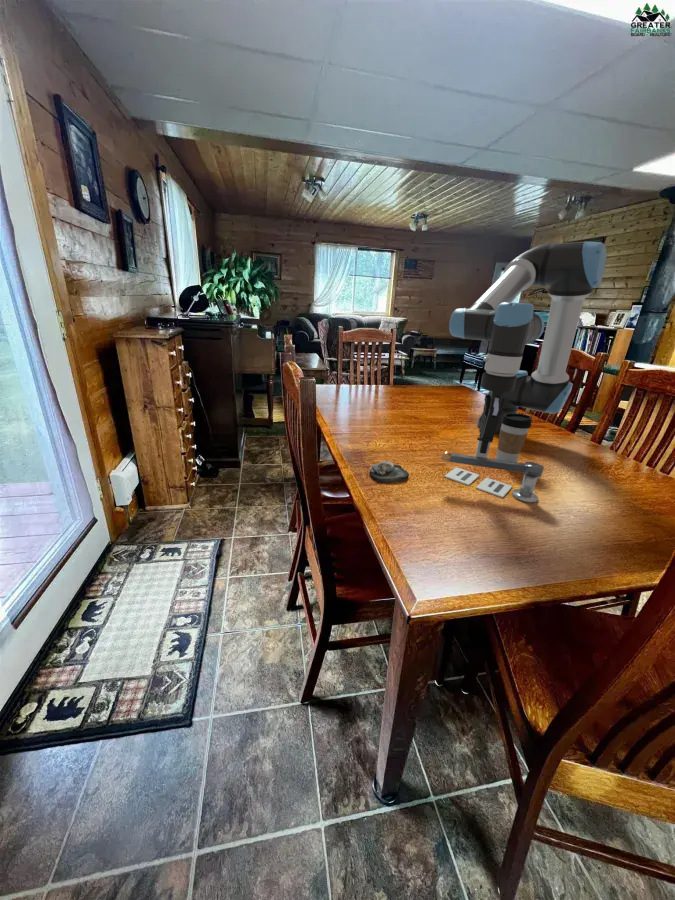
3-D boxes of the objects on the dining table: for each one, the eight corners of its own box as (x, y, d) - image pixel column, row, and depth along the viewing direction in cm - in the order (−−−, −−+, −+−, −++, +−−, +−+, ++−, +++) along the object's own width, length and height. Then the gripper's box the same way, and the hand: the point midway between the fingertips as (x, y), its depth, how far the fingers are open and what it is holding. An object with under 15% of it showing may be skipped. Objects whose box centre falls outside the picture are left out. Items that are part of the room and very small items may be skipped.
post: (515, 488, 95) (522, 466, 93) (539, 496, 92) (547, 474, 89) (509, 496, 91) (515, 474, 88) (534, 505, 88) (541, 482, 85)
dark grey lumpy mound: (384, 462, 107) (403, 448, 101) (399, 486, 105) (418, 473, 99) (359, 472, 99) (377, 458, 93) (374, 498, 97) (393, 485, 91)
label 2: (486, 478, 100) (486, 477, 100) (511, 487, 96) (512, 485, 96) (475, 488, 94) (476, 486, 94) (502, 498, 90) (503, 496, 90)
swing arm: (538, 471, 90) (541, 462, 89) (543, 479, 86) (546, 469, 85) (440, 457, 95) (441, 448, 94) (440, 464, 92) (442, 454, 90)
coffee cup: (523, 467, 108) (537, 421, 102) (494, 464, 110) (506, 418, 104) (516, 456, 116) (528, 413, 110) (489, 453, 117) (500, 410, 111)
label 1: (456, 468, 105) (456, 466, 105) (479, 476, 101) (479, 474, 101) (444, 477, 100) (444, 475, 99) (468, 485, 95) (468, 484, 95)
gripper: (481, 367, 90) (464, 451, 99) (485, 376, 78) (465, 470, 88) (513, 369, 88) (492, 455, 97) (522, 380, 77) (497, 475, 86)
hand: (479, 462), depth 93 cm, fingers closed
